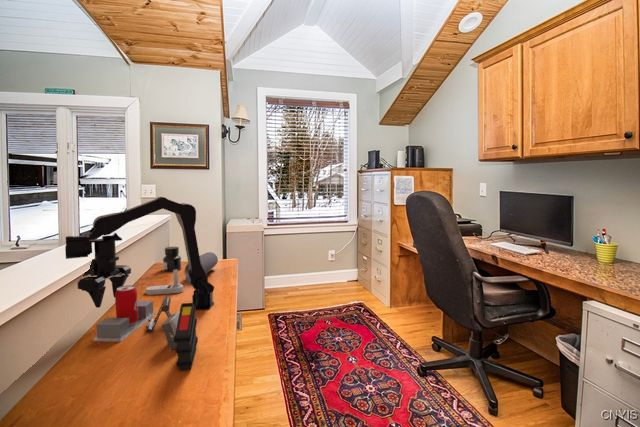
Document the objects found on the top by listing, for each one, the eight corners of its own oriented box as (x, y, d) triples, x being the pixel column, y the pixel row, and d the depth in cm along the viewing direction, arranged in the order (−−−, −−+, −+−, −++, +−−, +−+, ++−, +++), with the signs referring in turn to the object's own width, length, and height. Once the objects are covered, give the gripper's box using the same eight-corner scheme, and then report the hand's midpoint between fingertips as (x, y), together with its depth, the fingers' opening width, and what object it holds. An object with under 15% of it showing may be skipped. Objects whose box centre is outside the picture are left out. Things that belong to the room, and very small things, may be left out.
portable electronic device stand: (149, 322, 115) (148, 298, 114) (174, 319, 117) (174, 295, 117) (146, 333, 106) (145, 307, 106) (173, 329, 109) (173, 304, 108)
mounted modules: (153, 311, 121) (152, 301, 120) (120, 337, 101) (119, 324, 101) (133, 311, 121) (133, 300, 120) (96, 337, 101) (96, 324, 101)
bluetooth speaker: (202, 268, 184) (201, 250, 183) (218, 269, 184) (218, 251, 183) (183, 281, 162) (183, 260, 161) (202, 281, 161) (202, 260, 160)
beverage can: (142, 319, 114) (140, 284, 113) (132, 327, 108) (130, 290, 107) (123, 319, 114) (121, 284, 113) (112, 327, 108) (110, 290, 107)
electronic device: (146, 270, 146) (183, 268, 148) (148, 292, 147) (184, 289, 149) (142, 273, 141) (180, 271, 143) (144, 296, 142) (181, 293, 144)
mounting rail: (155, 314, 121) (155, 311, 121) (121, 341, 100) (121, 338, 100) (133, 313, 121) (133, 311, 121) (94, 341, 100) (94, 338, 100)
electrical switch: (182, 351, 95) (178, 319, 94) (164, 353, 95) (159, 321, 94) (193, 336, 105) (189, 307, 104) (176, 338, 104) (172, 309, 103)
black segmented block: (199, 338, 99) (195, 301, 92) (194, 380, 88) (189, 342, 81) (185, 339, 98) (180, 302, 91) (178, 382, 87) (172, 343, 80)
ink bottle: (166, 267, 186) (165, 246, 185) (182, 267, 188) (182, 245, 187) (161, 272, 177) (160, 249, 175) (179, 271, 178) (178, 249, 177)
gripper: (99, 249, 118) (101, 292, 119) (57, 261, 99) (60, 312, 101) (131, 249, 118) (132, 293, 119) (95, 261, 99) (98, 313, 101)
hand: (107, 302), depth 110 cm, fingers open, 9 cm apart
